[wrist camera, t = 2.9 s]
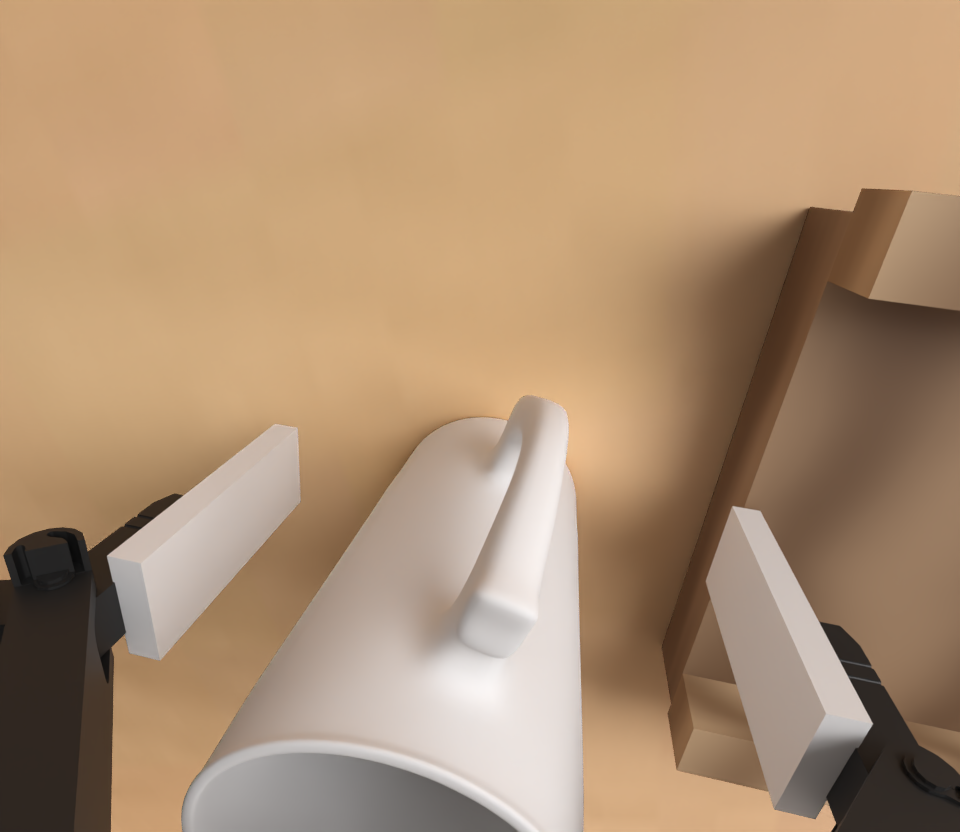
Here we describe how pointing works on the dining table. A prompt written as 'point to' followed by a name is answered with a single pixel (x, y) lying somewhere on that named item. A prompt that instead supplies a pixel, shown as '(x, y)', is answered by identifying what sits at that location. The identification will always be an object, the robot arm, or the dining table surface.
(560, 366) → the dining table surface
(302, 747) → the mug
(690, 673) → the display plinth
